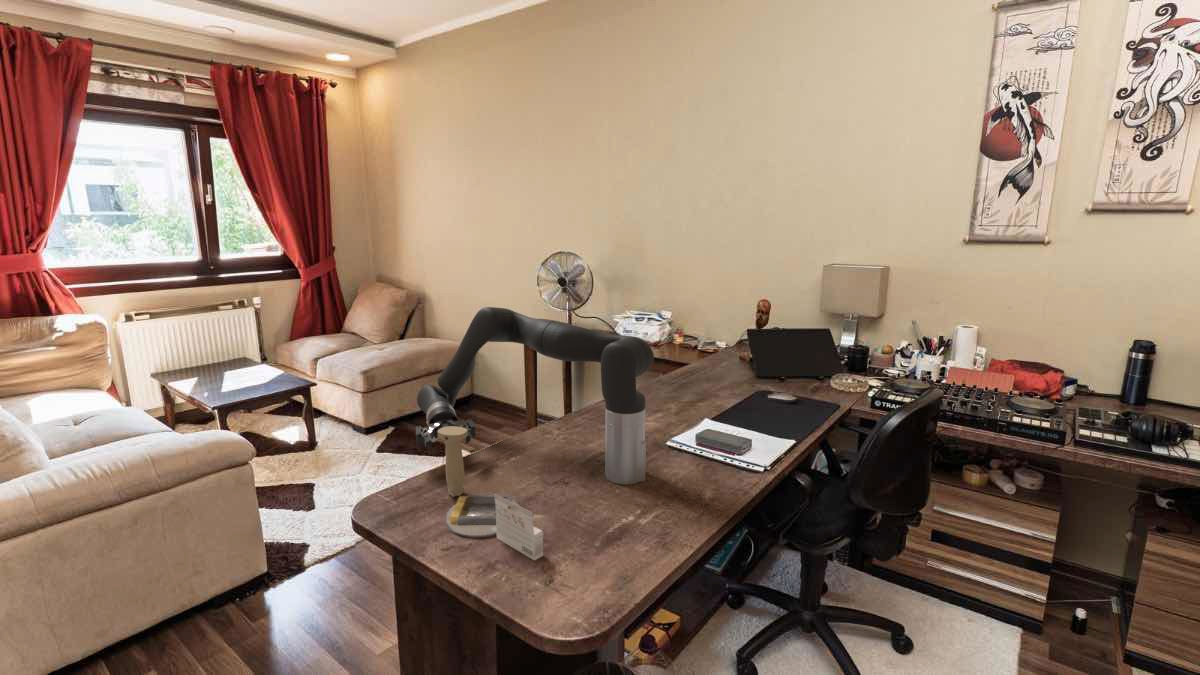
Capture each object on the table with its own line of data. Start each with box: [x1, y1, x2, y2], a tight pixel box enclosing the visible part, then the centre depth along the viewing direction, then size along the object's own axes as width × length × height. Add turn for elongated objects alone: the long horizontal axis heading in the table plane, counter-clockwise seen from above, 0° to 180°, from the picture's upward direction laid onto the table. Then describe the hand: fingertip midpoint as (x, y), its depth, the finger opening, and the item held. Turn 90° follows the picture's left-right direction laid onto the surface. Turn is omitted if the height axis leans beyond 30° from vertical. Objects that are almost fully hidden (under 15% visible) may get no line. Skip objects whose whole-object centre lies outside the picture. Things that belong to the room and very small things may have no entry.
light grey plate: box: [445, 494, 520, 538], centre depth 119 cm, size 15×15×2 cm
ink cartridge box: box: [493, 493, 544, 561], centre depth 107 cm, size 2×11×10 cm, turn 48°
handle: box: [438, 426, 467, 498], centre depth 127 cm, size 5×6×15 cm
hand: (449, 442), depth 137 cm, fingers open, 8 cm apart
